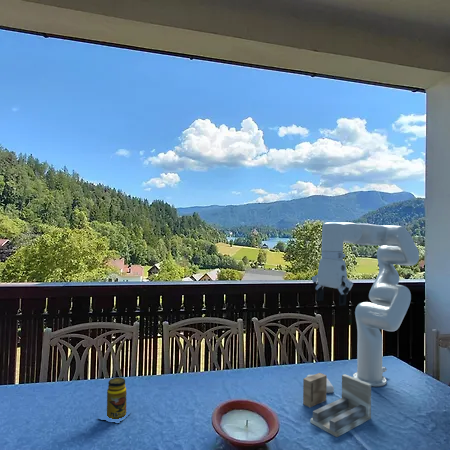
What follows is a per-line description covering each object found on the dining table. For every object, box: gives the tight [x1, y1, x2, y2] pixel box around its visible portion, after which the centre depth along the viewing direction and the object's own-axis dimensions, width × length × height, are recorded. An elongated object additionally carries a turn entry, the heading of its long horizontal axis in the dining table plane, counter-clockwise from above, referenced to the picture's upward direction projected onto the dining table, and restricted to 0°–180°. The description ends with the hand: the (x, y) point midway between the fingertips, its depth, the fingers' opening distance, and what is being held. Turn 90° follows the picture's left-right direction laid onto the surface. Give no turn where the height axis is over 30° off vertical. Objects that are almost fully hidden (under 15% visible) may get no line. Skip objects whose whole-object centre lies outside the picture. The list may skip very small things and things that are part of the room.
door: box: [302, 372, 328, 408], centre depth 130 cm, size 9×3×9 cm, turn 127°
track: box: [309, 373, 372, 438], centre depth 118 cm, size 18×10×11 cm, turn 127°
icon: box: [305, 374, 335, 394], centre depth 143 cm, size 12×4×10 cm
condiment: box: [106, 376, 127, 419], centre depth 119 cm, size 7×8×12 cm
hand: (330, 302), depth 134 cm, fingers open, 9 cm apart
